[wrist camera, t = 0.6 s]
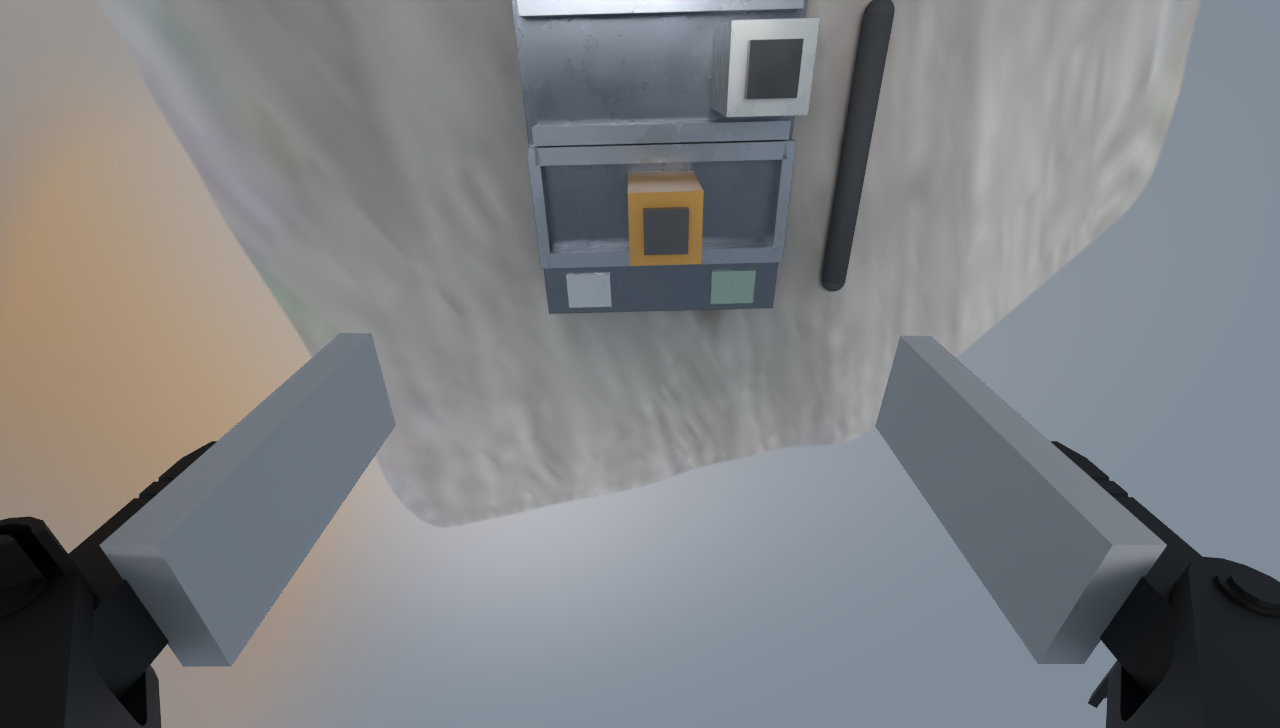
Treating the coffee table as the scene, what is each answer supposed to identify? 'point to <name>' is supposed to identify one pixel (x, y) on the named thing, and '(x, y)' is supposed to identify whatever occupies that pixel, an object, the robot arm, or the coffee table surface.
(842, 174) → the rod
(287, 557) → the robot arm
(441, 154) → the coffee table surface
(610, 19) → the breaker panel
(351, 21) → the coffee table surface
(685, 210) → the block
